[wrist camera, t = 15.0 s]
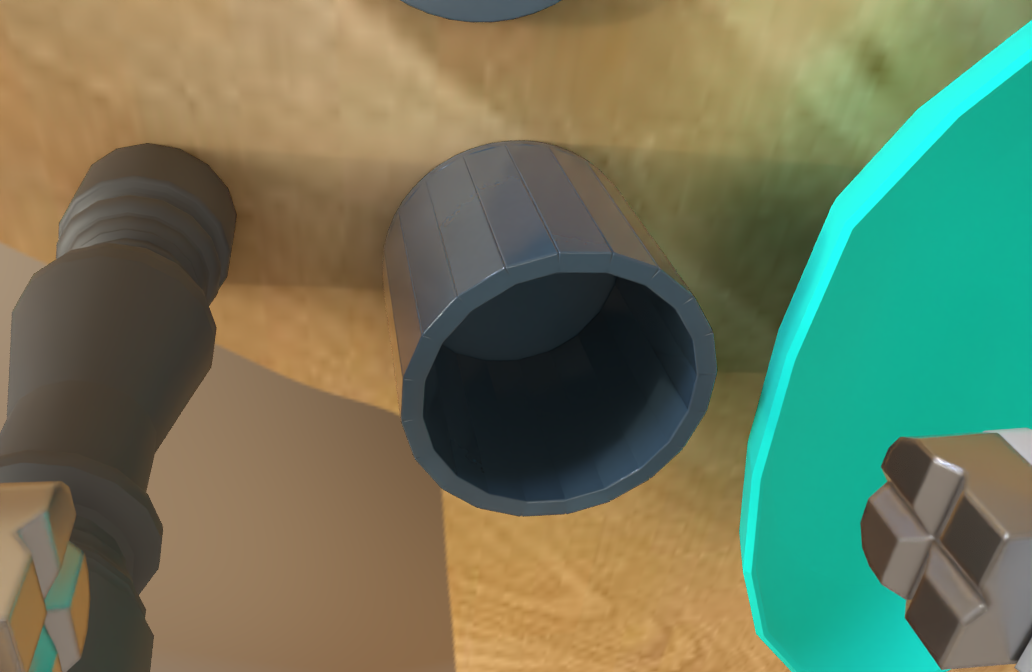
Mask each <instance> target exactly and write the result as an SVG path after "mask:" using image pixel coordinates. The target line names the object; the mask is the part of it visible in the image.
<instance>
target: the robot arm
mask: <svg viewBox="0 0 1032 672" xmlns="http://www.w3.org/2000/svg"><path fill="white" fill-rule="evenodd" d="M881 468H882V470H883V473H884V475H885V477H886V480H887V482H886V483H885V484H884V485H883V486H882V487H881V488H879V489H878V490H877V491H876V492H875V493H874V494H873V495H872V496H870V497H869V498H868V501H867V504H866V507H865V510H864V513H863V516H862V519H861V522H860V526H861V540H862V549H863V551H864V554H865V557H866V559H867V562H868V565H869V567H870V568H871V570H872V571H873V573H874V574H875V576H876V577H877V579H878V580H879V582H880V583H881V585H883V586H885V587H886V588H888V589H889V590H891V591H893V592H894V593H896V594H897V595H899V596H901V597H902V598H904V599H905V600H906V606H905V619H906V621H907V622H908V623H909V625H910V626H911V628H912V629H913V630H914V632H915V633H916V635H917V636H918V638H919V639H920V640H921V642H922V643H923V645H924V646H925V647H926V649H927V650H928V652H929V653H930V655H931V656H932V657H933V659H934V660H935V662H936V663H937V665H938V666H939V667H940V669H941V670H946V669H958V668H970V667H982V666H993V665H1005V664H1016V666H1015V669H1017V670H1018V671H1020V672H1032V429H1029V428H1014V429H1001V430H988V431H984V432H972V433H955V434H939V435H922V436H906V437H899V438H898V439H897V440H896V441H895V442H894V443H893V444H892V445H891V446H890V447H889V448H888V450H887V453H886V455H885V458H884V460H883V462H882V465H881ZM75 519H76V511H75V507H74V504H73V500H72V496H71V492H70V488H69V486H67V485H66V484H65V483H63V482H62V481H46V482H15V483H0V672H67V671H68V670H69V669H70V668H71V667H72V666H73V665H74V664H75V663H76V662H77V661H78V660H79V659H80V658H81V656H82V652H83V647H84V643H85V639H86V635H87V630H88V619H89V607H90V585H89V572H88V567H87V562H86V557H85V552H84V551H82V550H81V549H80V548H78V547H77V546H76V545H74V544H73V543H72V542H70V541H69V539H70V536H71V532H72V529H73V526H74V522H75Z"/></svg>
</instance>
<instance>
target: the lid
mask: <svg viewBox="0 0 1032 672" xmlns="http://www.w3.org/2000/svg"><path fill="white" fill-rule="evenodd" d="M400 1H402V2H404V3H405V4H407V5H409V6H411V7H414V8H416V9H418V10H421V11H423V12H426V13H428V14H431V15H435V16H438V17H442V18H446V19H449V20H457V21H464V22H498V21H505V20H512V19H516V18H520V17H523V16H527V15H531V14H534V13H536V12H539V11H541V10H543V9H546V8H548V7H550V6H553V5H555V4H556V3H558V2H560V1H561V0H400Z"/></svg>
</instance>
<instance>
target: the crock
mask: <svg viewBox="0 0 1032 672" xmlns="http://www.w3.org/2000/svg"><path fill="white" fill-rule="evenodd" d="M382 263H383V290H384V297H385V305H386V312H387V320H388V327H389V335H390V342H391V350H392V358H393V365H394V373H395V380H396V388H397V395H398V403H399V410H400V418H401V423H402V426H403V428H404V431H405V434H406V437H407V440H408V442H409V445H410V448H411V450H412V453H413V456H414V457H415V460H416V461H417V462H418V463H419V464H420V465H421V466H422V467H423V468H424V470H425V471H426V472H427V473H428V474H429V475H430V476H431V477H432V479H433V480H434V481H435V482H436V483H437V484H438V485H439V486H440V487H441V488H442V489H443V490H445V491H447V492H449V493H450V494H452V495H454V496H456V497H458V498H460V499H462V500H464V501H465V502H467V503H469V504H471V505H473V506H475V507H477V508H480V509H485V510H490V511H495V512H500V513H505V514H510V515H515V516H523V517H524V516H542V515H561V514H565V513H566V514H570V513H573V512H577V511H580V510H583V509H587V508H590V507H594V506H597V505H601V504H604V503H607V502H610V500H613V499H615V498H617V497H619V496H621V495H622V494H624V493H626V492H628V491H630V490H631V489H633V488H635V487H637V486H639V485H640V484H642V483H644V482H646V481H647V480H649V478H652V477H653V476H654V475H655V474H656V473H657V472H659V471H660V470H661V469H662V468H663V467H664V466H665V465H666V464H667V463H668V462H669V461H670V460H672V459H673V458H674V457H675V456H676V455H677V454H678V453H679V452H680V451H681V450H682V449H683V447H685V445H686V443H687V442H688V440H689V439H690V437H691V436H692V434H693V432H694V431H695V429H696V428H697V426H698V425H699V423H700V421H701V420H702V418H703V417H704V415H705V413H706V411H707V409H708V405H709V401H710V397H711V394H712V390H713V386H714V382H715V379H716V375H717V363H716V353H715V343H714V333H713V331H712V328H711V326H710V324H709V322H708V321H707V319H706V317H705V315H704V313H703V311H702V309H701V308H700V306H699V304H698V302H697V300H696V298H695V297H694V295H693V294H692V292H691V291H690V290H689V288H688V287H687V285H686V284H685V283H684V281H683V280H682V278H681V277H680V276H679V274H678V273H677V271H676V270H675V269H674V267H673V266H672V264H671V263H670V262H669V260H668V259H667V257H666V256H665V255H664V253H663V252H662V250H661V249H660V248H659V246H658V245H657V243H656V242H655V241H654V239H653V238H652V236H651V235H650V234H649V232H648V231H647V229H646V228H645V227H644V225H643V224H642V222H641V221H640V220H639V218H638V217H637V215H636V214H635V213H634V211H633V210H632V208H631V207H630V206H629V204H628V203H627V201H626V200H625V199H624V197H623V196H622V194H621V193H620V192H619V190H618V189H617V187H616V186H615V185H614V184H613V183H612V182H611V181H610V180H609V179H608V178H607V177H606V176H605V175H604V174H603V173H602V172H601V171H600V170H599V169H598V168H597V167H595V166H594V165H593V164H591V163H590V162H589V161H587V160H586V159H584V158H582V157H581V156H579V155H577V154H575V153H573V152H571V151H569V150H566V149H563V148H561V147H558V146H554V145H550V144H546V143H542V142H533V141H503V142H497V143H490V144H486V145H483V146H479V147H476V148H472V149H470V150H467V151H465V152H463V153H460V154H458V155H456V156H454V157H452V158H450V159H449V160H447V161H445V162H443V163H442V164H440V165H439V166H437V167H436V168H435V169H433V170H432V171H431V172H429V173H428V174H427V175H425V176H424V177H423V178H422V179H421V180H420V181H419V182H418V183H417V184H416V185H415V186H414V187H413V189H412V190H411V191H410V192H409V194H408V195H407V196H406V197H405V199H404V200H403V201H402V203H401V205H400V207H399V208H398V210H397V212H396V213H395V215H394V217H393V220H392V222H391V225H390V227H389V229H388V233H387V236H386V240H385V244H384V251H383V261H382Z"/></svg>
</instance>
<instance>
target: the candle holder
mask: <svg viewBox="0 0 1032 672" xmlns="http://www.w3.org/2000/svg"><path fill="white" fill-rule="evenodd" d="M235 222H236V212H235V209H234V206H233V202H232V199H231V196H230V193H229V190H228V188H227V187H226V185H225V184H224V183H223V182H222V181H221V180H220V178H219V177H218V176H217V175H216V174H215V173H214V171H213V170H212V169H211V168H210V167H209V165H207V164H205V163H204V162H202V161H200V160H198V159H197V158H195V157H193V156H191V155H189V154H188V153H186V152H184V151H182V150H181V149H177V148H171V147H166V146H160V145H154V144H149V143H146V144H141V145H135V146H129V147H124V148H118V149H115V150H114V151H112V152H111V153H109V154H108V155H106V156H105V157H103V158H102V159H100V160H99V161H97V162H96V163H94V164H93V165H92V166H91V167H90V169H89V171H88V172H87V174H86V176H85V178H84V179H83V181H82V183H81V185H80V186H79V188H78V190H77V192H76V194H75V195H74V197H73V199H72V201H71V203H70V204H69V206H68V208H67V210H66V212H65V214H64V215H63V217H62V219H61V221H60V223H59V240H58V242H57V251H56V260H55V261H53V262H51V263H50V264H48V265H47V266H45V267H44V268H42V269H41V270H39V271H38V272H36V273H34V274H33V276H32V278H31V279H30V281H29V283H28V285H27V286H26V288H25V290H24V292H23V293H22V295H21V297H20V298H19V300H18V302H17V304H16V306H15V308H14V309H13V311H12V321H11V322H12V323H11V347H10V367H9V386H8V405H7V420H6V422H5V424H4V426H3V428H2V430H1V433H0V483H15V482H46V481H62V482H63V483H65V484H66V485H67V486H69V488H70V492H71V496H72V500H73V504H74V507H75V511H76V519H75V522H74V526H73V529H72V532H71V536H70V539H69V541H70V542H72V543H73V544H74V545H76V546H77V547H78V548H80V549H81V550H82V551H84V552H85V557H86V562H87V567H88V572H89V585H90V607H89V619H88V630H87V635H86V639H85V643H84V647H83V652H82V656H81V658H80V659H79V660H78V661H77V662H76V663H75V664H74V665H73V666H72V667H71V668H70V669H69V670H68V671H67V672H150V667H151V658H152V648H153V639H154V635H153V633H152V631H151V629H150V628H149V626H148V624H147V622H146V620H145V613H146V609H145V607H144V605H143V603H142V601H141V599H140V597H139V594H140V593H141V591H142V590H143V589H144V587H145V586H146V585H147V583H148V582H149V581H150V579H151V578H152V576H153V575H154V574H155V573H156V571H157V570H158V568H159V562H160V553H161V544H162V535H163V527H162V523H161V521H160V519H159V517H158V515H157V513H156V511H155V508H154V507H153V504H152V502H151V500H150V498H149V496H148V494H147V493H146V490H147V485H148V481H149V477H150V472H151V468H152V463H153V458H154V454H155V452H156V451H157V449H158V448H159V446H160V445H161V443H162V442H163V440H164V439H165V437H166V435H167V434H168V432H169V431H170V429H171V428H172V426H173V425H174V423H175V422H176V420H177V418H178V417H179V415H180V414H181V412H182V411H183V409H184V408H185V406H186V404H187V403H188V401H189V400H190V398H191V397H192V395H193V394H194V392H195V391H196V389H197V388H198V386H199V385H200V383H201V382H202V380H203V379H204V377H205V376H206V374H207V373H208V371H209V370H210V368H211V365H212V359H213V352H214V344H215V336H216V325H215V322H214V319H213V317H212V314H211V311H210V308H209V305H210V304H211V302H212V301H213V299H214V298H215V297H216V295H217V293H218V290H219V288H220V287H221V285H222V284H223V282H224V281H225V279H226V278H227V275H228V269H229V263H230V257H231V251H232V245H233V238H234V230H235Z"/></svg>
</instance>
